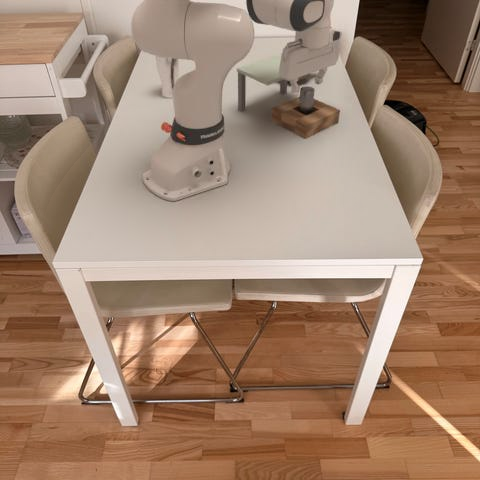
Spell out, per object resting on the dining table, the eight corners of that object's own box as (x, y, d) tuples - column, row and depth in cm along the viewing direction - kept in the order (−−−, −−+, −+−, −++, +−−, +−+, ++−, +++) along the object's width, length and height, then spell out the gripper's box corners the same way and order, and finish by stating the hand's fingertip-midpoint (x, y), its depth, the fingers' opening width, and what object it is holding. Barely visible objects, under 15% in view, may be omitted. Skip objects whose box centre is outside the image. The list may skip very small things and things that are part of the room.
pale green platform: (266, 125, 134) (267, 82, 125) (237, 109, 141) (236, 68, 132) (312, 104, 143) (316, 63, 134) (283, 91, 150) (285, 51, 142)
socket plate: (305, 138, 128) (306, 125, 125) (271, 120, 136) (271, 108, 133) (338, 122, 134) (340, 110, 132) (303, 106, 142) (304, 94, 140)
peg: (304, 126, 133) (307, 93, 126) (294, 121, 135) (297, 89, 128) (313, 122, 135) (317, 89, 128) (303, 117, 137) (307, 85, 130)
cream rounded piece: (179, 88, 153) (174, 42, 143) (183, 97, 148) (179, 49, 138) (158, 91, 151) (152, 44, 141) (162, 100, 146) (156, 52, 136)
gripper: (292, 47, 111) (288, 101, 120) (346, 31, 122) (339, 82, 131) (275, 40, 115) (272, 93, 124) (328, 25, 125) (322, 75, 134)
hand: (307, 87), depth 127 cm, fingers open, 8 cm apart
